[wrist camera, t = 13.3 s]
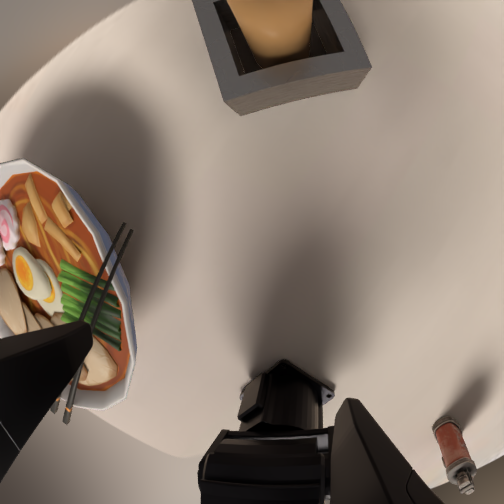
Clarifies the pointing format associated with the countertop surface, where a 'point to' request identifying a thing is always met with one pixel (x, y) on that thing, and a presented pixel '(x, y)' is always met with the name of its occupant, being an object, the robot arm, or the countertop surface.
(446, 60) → the countertop surface
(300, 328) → the countertop surface
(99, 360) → the ramen bowl
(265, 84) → the grey square open block
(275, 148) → the countertop surface
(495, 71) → the countertop surface
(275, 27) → the plug
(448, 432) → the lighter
